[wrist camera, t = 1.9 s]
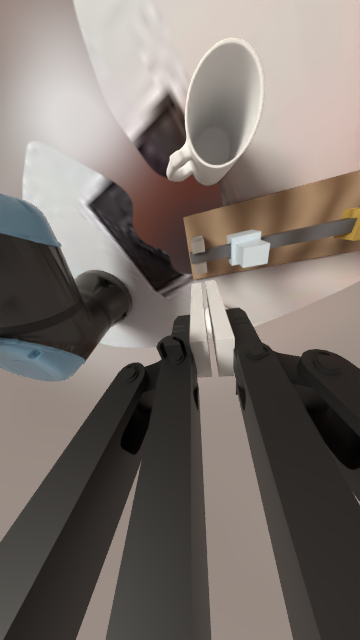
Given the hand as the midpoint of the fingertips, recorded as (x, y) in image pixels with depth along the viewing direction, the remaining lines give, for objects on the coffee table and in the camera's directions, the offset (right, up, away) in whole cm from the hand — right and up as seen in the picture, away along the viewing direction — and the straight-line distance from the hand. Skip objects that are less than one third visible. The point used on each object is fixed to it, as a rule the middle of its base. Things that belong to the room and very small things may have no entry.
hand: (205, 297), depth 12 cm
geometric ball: (+8, 0, +27) cm, 28 cm away
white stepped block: (+8, +11, +13) cm, 19 cm away
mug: (+1, +23, +11) cm, 26 cm away
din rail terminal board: (+15, +15, +15) cm, 26 cm away
